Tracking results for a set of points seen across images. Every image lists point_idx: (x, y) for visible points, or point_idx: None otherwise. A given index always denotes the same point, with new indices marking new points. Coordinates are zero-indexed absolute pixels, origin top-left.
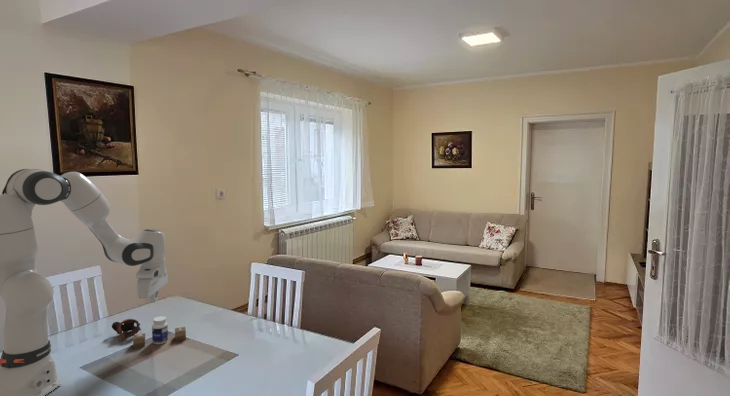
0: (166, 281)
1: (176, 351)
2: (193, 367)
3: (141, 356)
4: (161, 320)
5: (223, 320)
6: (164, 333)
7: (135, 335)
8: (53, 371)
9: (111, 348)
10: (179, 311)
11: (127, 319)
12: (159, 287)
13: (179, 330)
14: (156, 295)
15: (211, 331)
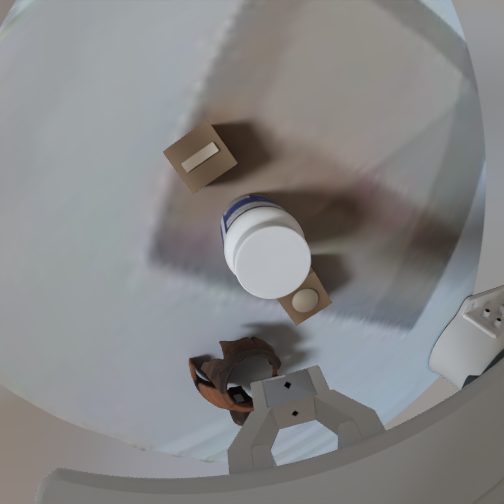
0: (66, 493)
1: (321, 105)
2: (395, 20)
3: (369, 215)
4: (298, 235)
5: (18, 99)
6: (272, 202)
7: (301, 315)
8: (481, 324)
9: (322, 343)
10: (18, 318)
11: (235, 408)
12: (287, 489)
13: (217, 150)
14: (268, 421)
15: (114, 67)
